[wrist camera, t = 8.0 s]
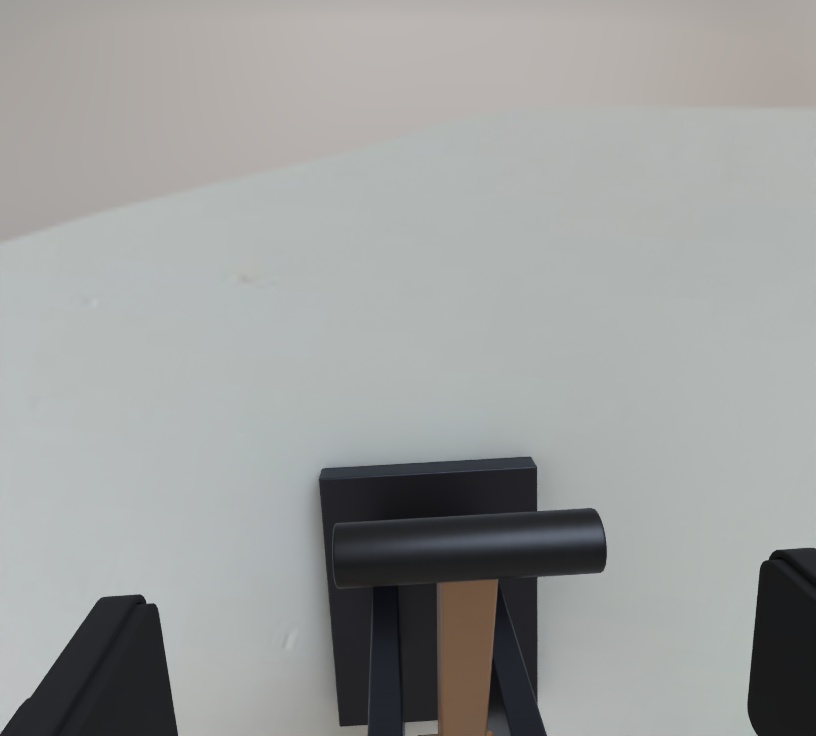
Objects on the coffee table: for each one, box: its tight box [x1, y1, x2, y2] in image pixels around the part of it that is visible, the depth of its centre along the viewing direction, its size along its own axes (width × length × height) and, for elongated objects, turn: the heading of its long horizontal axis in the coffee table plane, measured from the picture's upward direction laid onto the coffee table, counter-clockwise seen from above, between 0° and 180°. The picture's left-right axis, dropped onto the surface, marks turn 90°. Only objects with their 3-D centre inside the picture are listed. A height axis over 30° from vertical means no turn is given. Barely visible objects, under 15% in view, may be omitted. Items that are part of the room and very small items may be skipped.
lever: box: [332, 508, 607, 736], centre depth 16 cm, size 13×5×2 cm, turn 3°
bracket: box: [319, 457, 547, 736], centre depth 23 cm, size 12×9×13 cm
